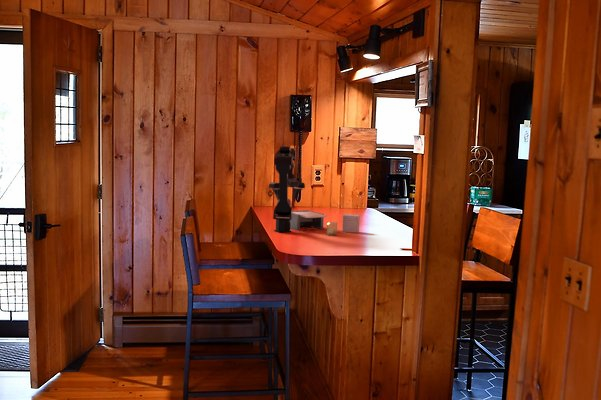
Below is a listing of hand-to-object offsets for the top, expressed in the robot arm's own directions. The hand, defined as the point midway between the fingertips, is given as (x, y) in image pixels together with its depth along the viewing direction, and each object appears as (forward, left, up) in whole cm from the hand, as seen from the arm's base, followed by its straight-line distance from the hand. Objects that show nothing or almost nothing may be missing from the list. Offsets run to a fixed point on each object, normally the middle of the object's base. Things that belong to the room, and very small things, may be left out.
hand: (286, 201), depth 344 cm
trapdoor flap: (+7, -10, -10) cm, 16 cm away
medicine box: (+23, -26, -13) cm, 37 cm away
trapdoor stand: (+7, -5, -13) cm, 16 cm away
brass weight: (+8, -31, -13) cm, 34 cm away
